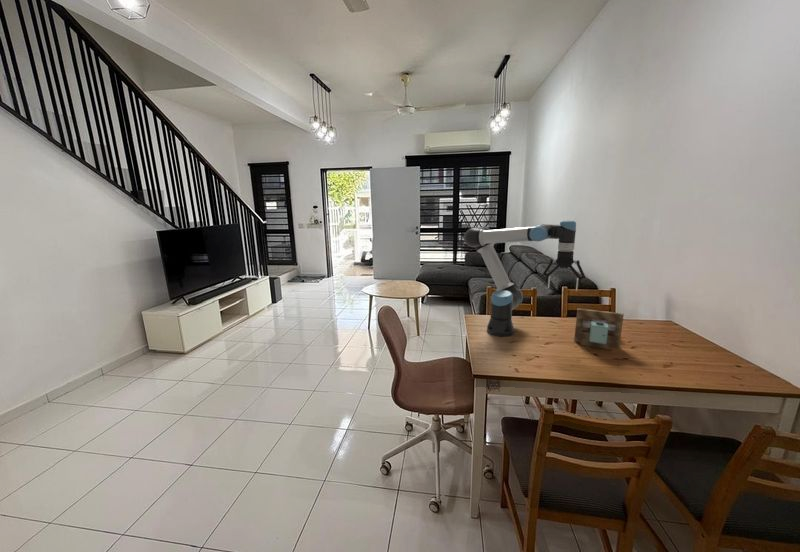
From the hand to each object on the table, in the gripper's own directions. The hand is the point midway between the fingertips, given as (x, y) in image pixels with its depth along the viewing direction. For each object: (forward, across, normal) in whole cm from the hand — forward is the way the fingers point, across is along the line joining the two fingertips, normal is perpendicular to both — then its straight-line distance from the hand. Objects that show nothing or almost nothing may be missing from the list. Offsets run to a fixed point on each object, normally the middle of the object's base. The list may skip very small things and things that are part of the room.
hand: (562, 289), depth 172 cm
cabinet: (+22, +18, -9) cm, 30 cm away
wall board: (+27, +18, -5) cm, 33 cm away
